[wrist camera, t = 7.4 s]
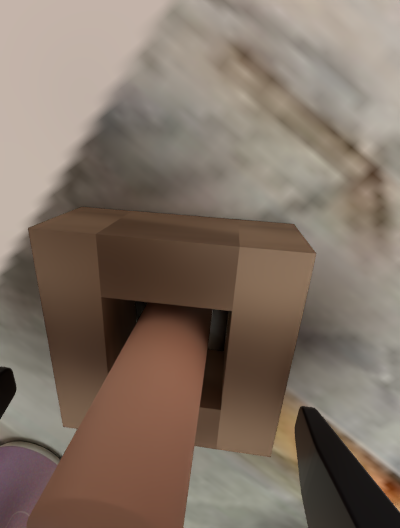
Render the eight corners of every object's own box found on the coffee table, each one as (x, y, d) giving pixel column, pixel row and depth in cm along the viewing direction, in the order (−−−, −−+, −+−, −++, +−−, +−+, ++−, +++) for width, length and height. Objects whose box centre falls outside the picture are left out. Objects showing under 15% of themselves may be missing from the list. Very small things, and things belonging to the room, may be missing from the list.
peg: (210, 336, 14) (176, 600, 6) (150, 329, 15) (39, 573, 6) (214, 282, 13) (180, 514, 5) (150, 275, 13) (12, 486, 5)
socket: (262, 391, 15) (270, 456, 12) (97, 369, 16) (63, 426, 13) (294, 224, 12) (316, 253, 9) (81, 206, 12) (28, 228, 9)
